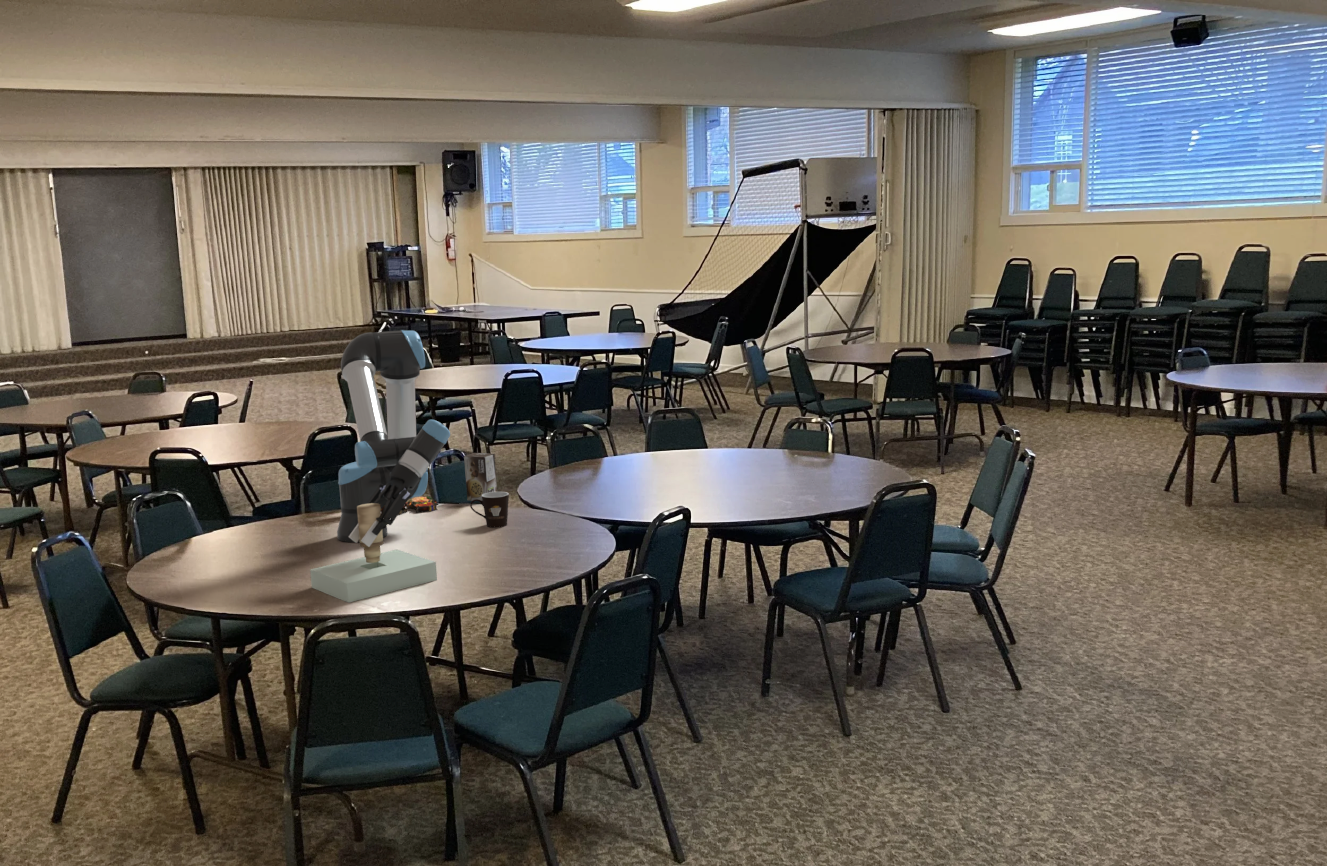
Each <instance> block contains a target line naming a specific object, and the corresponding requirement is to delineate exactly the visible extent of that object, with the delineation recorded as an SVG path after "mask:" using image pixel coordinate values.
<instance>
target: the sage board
mask: <svg viewBox="0 0 1327 866" xmlns="http://www.w3.org/2000/svg"><path fill="white" fill-rule="evenodd" d="M309 572H310V585H311V589H314V590H316V591H319V592H321V593H324V594H326V595H329V596H332V597H333V598H336V599H339V600H341V601H343V602H346V603H353V602H356V601H360V600H365V599H369V598H371V597H376V596H379V595H380V596H381V595H383V594H384V595H385V594H388V593H391V592H396V591H399V590H403V589H407V588H412V587H414V586H419V585H423V584H426V583H427V584H428V583H431V582H434V581H437V580H438V575H437V573H438V572H437V561H434V560H431V559H428V558H425V557H421V556H419V555H416V554H412V553H410V552H407V551H404V550H401V549H394V550H393V549H392V550H390V551H389V550H387V551H384V552H381V555H380V561H379V562H375V563H367V562H366V557H365V556H363V557H358V558H353V559H349V560H345V561H341V562H337V563H331V564H327V565H323V566H319V567H314V568H311V569H309Z"/></svg>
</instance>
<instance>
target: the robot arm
mask: <svg viewBox="0 0 1327 866" xmlns="http://www.w3.org/2000/svg"><path fill="white" fill-rule="evenodd" d="M340 360H341V361H340V369H341V376H342V378H343V379H344V380H345V382H346V383H347V386H348V389H349V396H350V400H351V406H352V409H353V414H354V419H355V423H356V427H357V432H358V436H359V441H358V442H356V443H355V444H354V456H355V461H354V462H350V463H346V464H345V465H342V466H341V467H340V469H339V470H338V482H337V484H338V486H339V487H338V488H339V497H340V499H339V500H340V511H341V514H340V519H339V523H338V527H337V530H336V531H337V532H336V533H337V534H336V535H337V537H336V538H337V540H338V541H340V542H346V543H355V544H357V543H360V539H359V526H358V514H357V506H359V505H362V504H369V503H377V504H380V507H381V509H382V508H383V507H384V506H385V507H384V509H383V511H382V513H381V515H380V517H378V518H376V520H378V521H379V522H378V521H376V520H375V522H374V523H373V524H372V526H371V527H370V529H369V530H368V531H367V533H366V534H365V536H364V537H363V538H362V540H361V541H362V542H363V543H364V544H366V545H367V546H368V547H370V545H371V544H372V543H373V541H374V540H375V538H376V537H377V535H378V534H379V533H380V531H381V530H382V532H383V538H385V537H387V536H388V527H387V526H388V525H389V526H392V524H393V523H394V521H395V520H396V519H397V517H398V516H399V515H398V514H399V512H400V511H401V509H402V508H403V506H404V505H405V503H406V502H409V501H410V500H411V499H412V498H416V497H423V495H424V494H425V492H426V490H427V487H428V481H429V474H428V471H429V470H428V468H429V467H430V466H431V465H432V463H433V461H434V460H435V459H436V457H437V456H438V455H439V453H440V452H441V450H442V448H444V445H446V444H447V442H448V440H449V438H450V437H451V432H450V430H449V429H448V427H447V426H445V424H443V423H441V422H440V421H437V420H435V419H428V420H427V421H426V422H425V424H424V425H423V426H422V427H421V429H420V430H419V432H418V433H417V419H416V415H417V414H416V411H417V410H416V379H417V378H418V377H419V376H421V375H420V369H424V368H425V367H426V357H425V350H424V346H423V343H422V340H421V337H420V335H419V333H418V332H417V331H415V330H404V329H400V330H389V331H388V330H387V331H378V332H377V331H376V332H374V331H373V332H371V331H370V332H364V333H361V334H358V335H357V336H355V337H354V338H352V340H351V341H350V342H349V343H348V344H347V346H346V347H345V349H344V351H343V353H342V356H341V359H340ZM376 372H380V377H381V378H382V379H384V381H385V391H386V414H387V415H386V416H387V417H386V420H387V422H386V423H387V427H386V424H385V420H384V419H385V418H384V415H383V411H382V407H381V402H380V398H379V394H378V390H377V385H376V380H375V375H376Z"/></svg>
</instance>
